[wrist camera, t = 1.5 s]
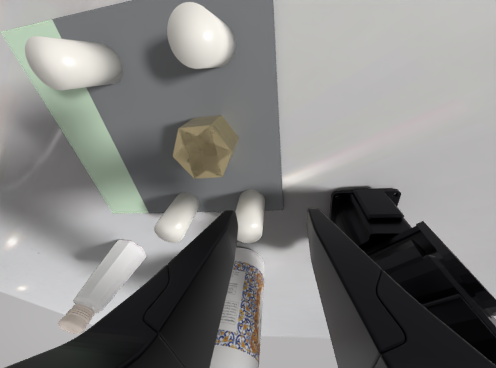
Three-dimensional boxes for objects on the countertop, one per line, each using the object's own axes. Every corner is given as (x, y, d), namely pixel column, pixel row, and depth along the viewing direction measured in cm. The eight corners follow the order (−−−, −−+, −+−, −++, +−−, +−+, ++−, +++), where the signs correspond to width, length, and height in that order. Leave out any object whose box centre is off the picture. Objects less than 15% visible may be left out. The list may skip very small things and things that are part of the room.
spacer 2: (202, 211, 25) (186, 242, 20) (180, 212, 25) (160, 242, 21) (196, 191, 23) (177, 220, 19) (172, 192, 24) (149, 221, 19)
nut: (242, 159, 20) (236, 176, 17) (194, 163, 21) (180, 179, 18) (235, 113, 18) (227, 123, 15) (181, 119, 19) (163, 129, 16)
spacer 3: (238, 64, 16) (223, 64, 11) (202, 69, 16) (176, 72, 12) (231, 16, 14) (212, -4, 10) (193, 24, 15) (159, 8, 10)
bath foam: (259, 279, 31) (239, 534, 14) (217, 270, 31) (147, 512, 14) (269, 251, 27) (257, 552, 11) (221, 241, 28) (133, 522, 11)
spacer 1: (128, 81, 17) (81, 87, 13) (100, 85, 18) (45, 92, 14) (112, 40, 16) (53, 32, 12) (81, 46, 16) (14, 40, 12)
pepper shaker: (145, 265, 33) (94, 344, 24) (114, 255, 33) (49, 331, 23) (148, 245, 30) (91, 327, 21) (113, 234, 30) (39, 311, 20)
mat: (283, 207, 23) (283, 209, 23) (114, 211, 27) (112, 213, 27) (271, -31, 13) (271, -33, 13) (5, 32, 17) (-1, 31, 17)
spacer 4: (265, 210, 23) (263, 243, 19) (241, 210, 24) (233, 242, 19) (263, 189, 22) (260, 219, 17) (237, 190, 22) (228, 220, 18)
